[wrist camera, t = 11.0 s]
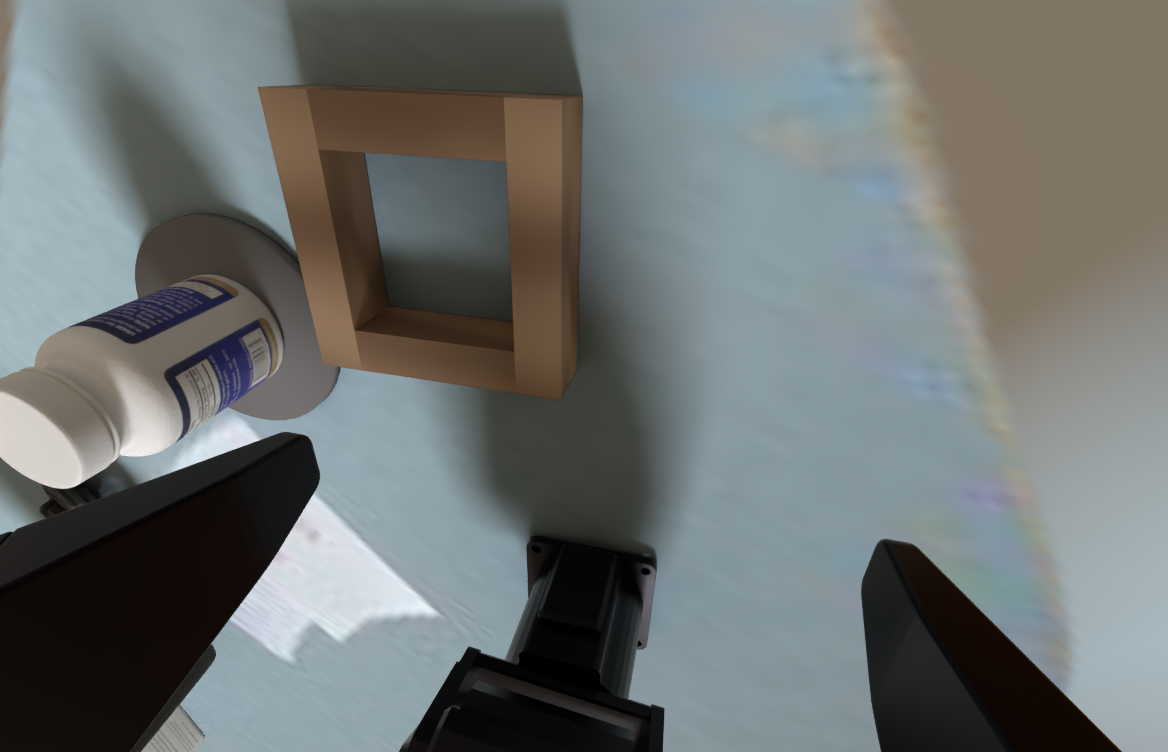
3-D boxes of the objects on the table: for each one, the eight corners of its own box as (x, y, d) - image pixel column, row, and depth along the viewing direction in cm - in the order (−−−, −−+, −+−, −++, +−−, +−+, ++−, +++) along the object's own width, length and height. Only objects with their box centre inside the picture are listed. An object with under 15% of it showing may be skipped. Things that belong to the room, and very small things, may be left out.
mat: (358, 427, 27) (351, 434, 27) (189, 398, 29) (179, 404, 29) (314, 223, 22) (305, 227, 22) (114, 204, 24) (100, 207, 24)
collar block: (577, 368, 23) (560, 399, 21) (358, 338, 25) (323, 364, 22) (582, 96, 18) (562, 100, 16) (309, 84, 20) (257, 86, 17)
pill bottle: (166, 314, 26) (-68, 418, 18) (213, 247, 23) (-36, 335, 16) (255, 397, 27) (70, 525, 19) (309, 342, 24) (120, 464, 17)
